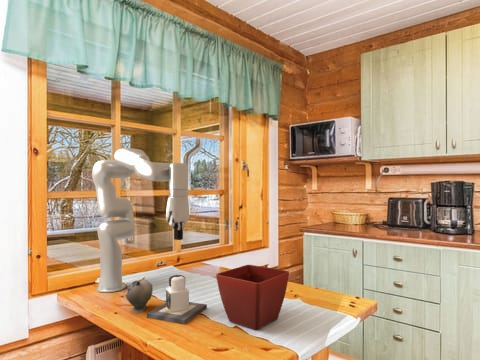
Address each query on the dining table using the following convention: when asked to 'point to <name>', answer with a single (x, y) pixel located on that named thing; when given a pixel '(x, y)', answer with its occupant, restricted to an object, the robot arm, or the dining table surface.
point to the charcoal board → (177, 313)
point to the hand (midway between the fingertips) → (178, 239)
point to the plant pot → (252, 294)
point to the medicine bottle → (177, 294)
